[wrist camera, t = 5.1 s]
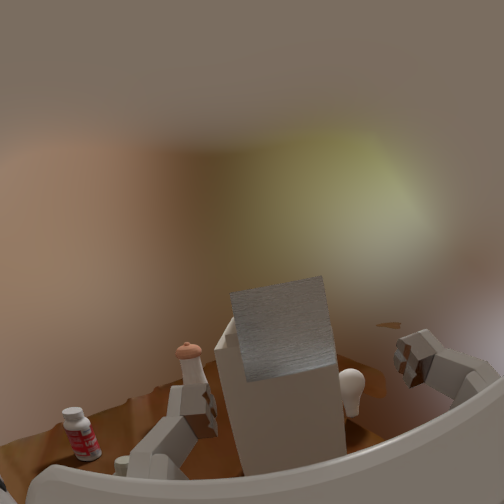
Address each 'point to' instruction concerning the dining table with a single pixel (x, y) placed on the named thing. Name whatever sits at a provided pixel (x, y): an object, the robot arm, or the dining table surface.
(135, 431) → the dining table surface
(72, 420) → the pill bottle
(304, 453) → the stand
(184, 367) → the pepper shaker
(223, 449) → the dining table surface
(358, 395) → the lightbulb
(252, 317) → the brushed metal bar
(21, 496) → the dining table surface
